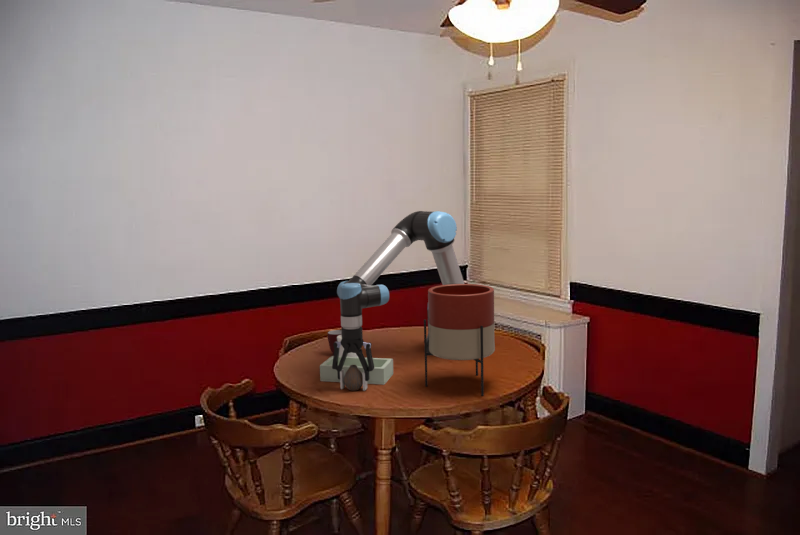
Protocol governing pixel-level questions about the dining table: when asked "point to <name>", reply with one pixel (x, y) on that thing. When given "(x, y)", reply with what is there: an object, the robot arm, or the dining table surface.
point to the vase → (353, 378)
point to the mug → (333, 338)
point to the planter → (460, 324)
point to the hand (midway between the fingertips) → (353, 388)
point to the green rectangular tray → (377, 375)
